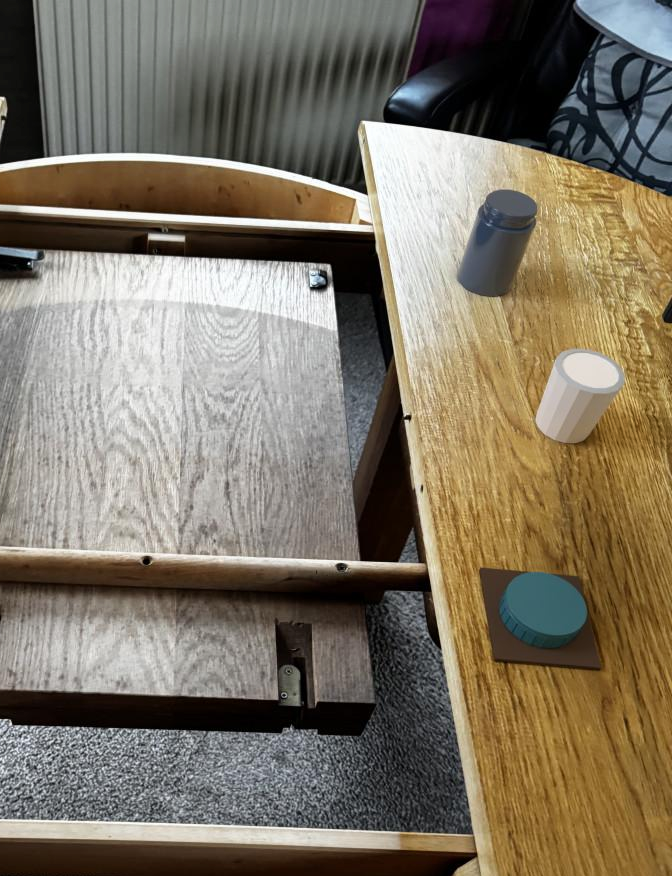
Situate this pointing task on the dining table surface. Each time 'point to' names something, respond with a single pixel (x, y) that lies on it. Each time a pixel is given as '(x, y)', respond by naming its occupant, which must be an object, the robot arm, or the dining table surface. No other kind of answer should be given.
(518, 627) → the lid
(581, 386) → the white short cylinder
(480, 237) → the jar
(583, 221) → the dining table surface
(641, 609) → the dining table surface
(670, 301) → the robot arm
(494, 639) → the coaster
